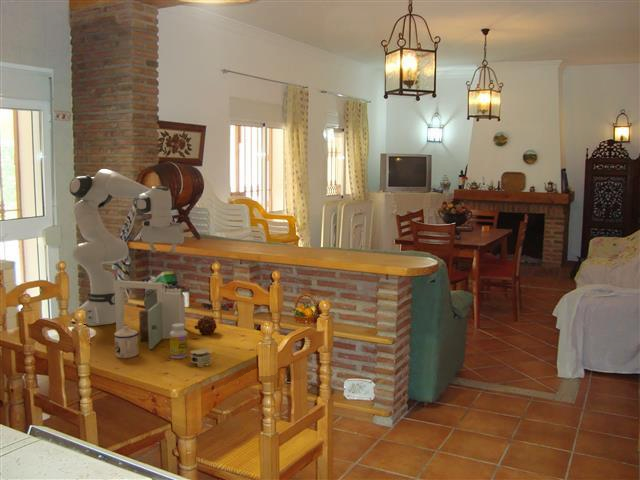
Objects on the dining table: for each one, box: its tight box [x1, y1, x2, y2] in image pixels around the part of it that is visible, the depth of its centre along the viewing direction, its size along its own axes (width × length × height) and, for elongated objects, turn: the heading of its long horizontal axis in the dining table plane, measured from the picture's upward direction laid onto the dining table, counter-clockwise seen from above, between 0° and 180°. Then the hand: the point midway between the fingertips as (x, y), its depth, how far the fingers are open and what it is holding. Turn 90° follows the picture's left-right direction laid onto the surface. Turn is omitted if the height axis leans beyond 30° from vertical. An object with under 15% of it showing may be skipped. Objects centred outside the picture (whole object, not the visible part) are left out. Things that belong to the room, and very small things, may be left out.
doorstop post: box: [138, 309, 149, 344], centre depth 264 cm, size 5×5×13 cm
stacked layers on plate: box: [190, 348, 212, 368], centre depth 234 cm, size 10×9×6 cm
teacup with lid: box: [113, 325, 139, 359], centre depth 243 cm, size 12×9×12 cm
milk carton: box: [166, 288, 186, 326], centre depth 281 cm, size 7×7×19 cm
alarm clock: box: [143, 287, 167, 310], centre depth 304 cm, size 12×7×15 cm, turn 110°
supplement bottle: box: [169, 323, 189, 360], centre depth 243 cm, size 7×7×13 cm
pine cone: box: [194, 315, 218, 336], centre depth 276 cm, size 8×8×12 cm
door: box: [148, 302, 163, 350], centre depth 259 cm, size 16×3×16 cm, turn 179°
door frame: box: [114, 279, 182, 340], centre depth 270 cm, size 31×2×24 cm, turn 74°
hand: (163, 252), depth 281 cm, fingers open, 8 cm apart
